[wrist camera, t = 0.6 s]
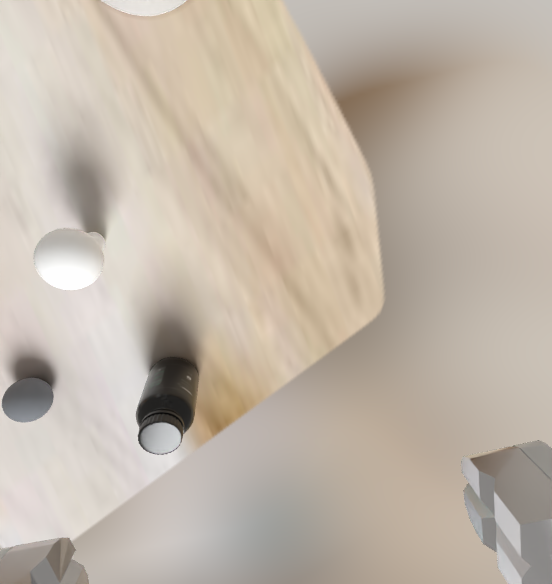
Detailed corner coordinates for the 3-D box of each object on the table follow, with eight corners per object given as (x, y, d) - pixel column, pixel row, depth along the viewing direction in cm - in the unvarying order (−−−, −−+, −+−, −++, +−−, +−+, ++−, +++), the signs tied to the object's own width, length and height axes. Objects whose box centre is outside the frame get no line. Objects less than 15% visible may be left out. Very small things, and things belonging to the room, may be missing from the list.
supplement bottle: (208, 382, 53) (203, 444, 42) (167, 404, 54) (152, 471, 43) (181, 347, 51) (168, 403, 40) (139, 370, 51) (114, 432, 40)
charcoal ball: (7, 378, 49) (-18, 405, 44) (45, 363, 49) (24, 388, 44) (32, 409, 51) (10, 437, 46) (68, 395, 51) (50, 422, 46)
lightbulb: (69, 210, 43) (20, 229, 32) (125, 220, 44) (94, 242, 34) (68, 260, 45) (21, 293, 34) (121, 269, 46) (90, 303, 36)
